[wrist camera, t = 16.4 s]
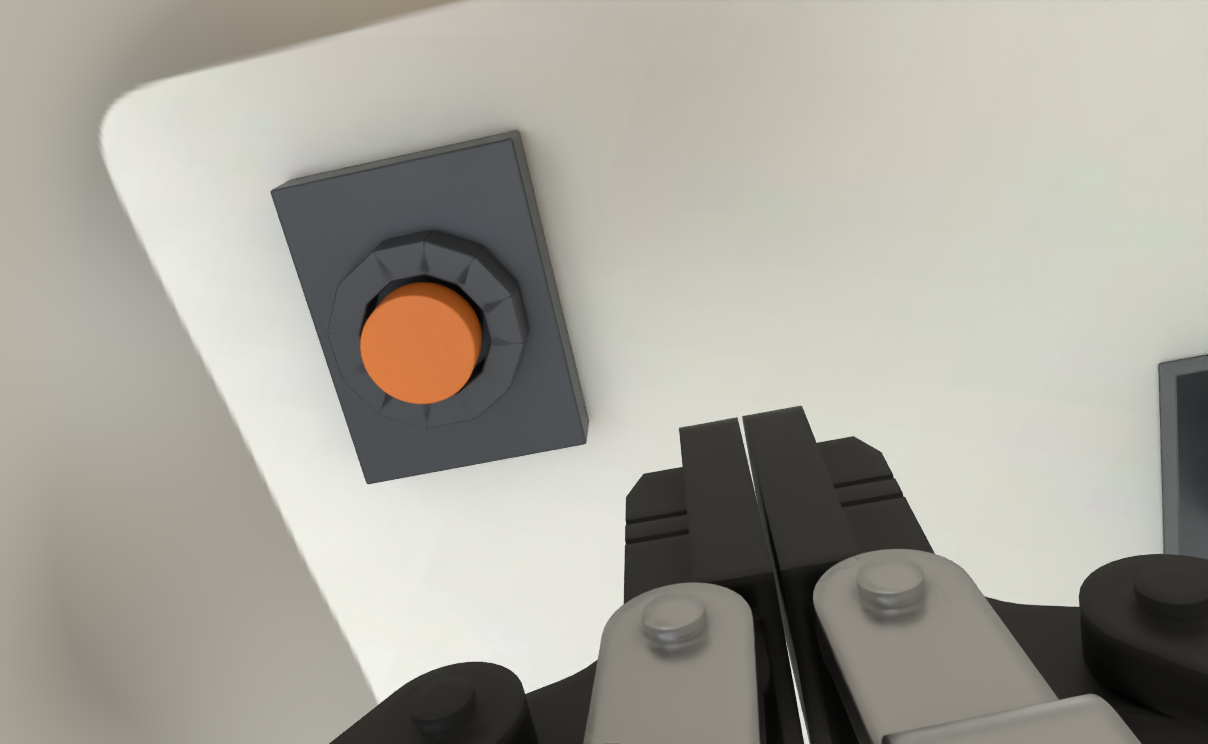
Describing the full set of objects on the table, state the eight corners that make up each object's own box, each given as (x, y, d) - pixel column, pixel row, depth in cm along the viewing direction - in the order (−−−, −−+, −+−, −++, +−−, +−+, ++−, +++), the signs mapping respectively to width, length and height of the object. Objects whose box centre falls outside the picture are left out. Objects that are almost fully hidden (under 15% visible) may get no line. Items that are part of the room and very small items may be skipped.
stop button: (358, 293, 36) (344, 308, 34) (466, 271, 36) (458, 285, 34) (389, 395, 37) (378, 414, 36) (494, 375, 37) (487, 393, 35)
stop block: (288, 180, 38) (250, 200, 35) (519, 129, 37) (505, 145, 34) (379, 461, 42) (354, 507, 39) (589, 422, 42) (584, 465, 38)
